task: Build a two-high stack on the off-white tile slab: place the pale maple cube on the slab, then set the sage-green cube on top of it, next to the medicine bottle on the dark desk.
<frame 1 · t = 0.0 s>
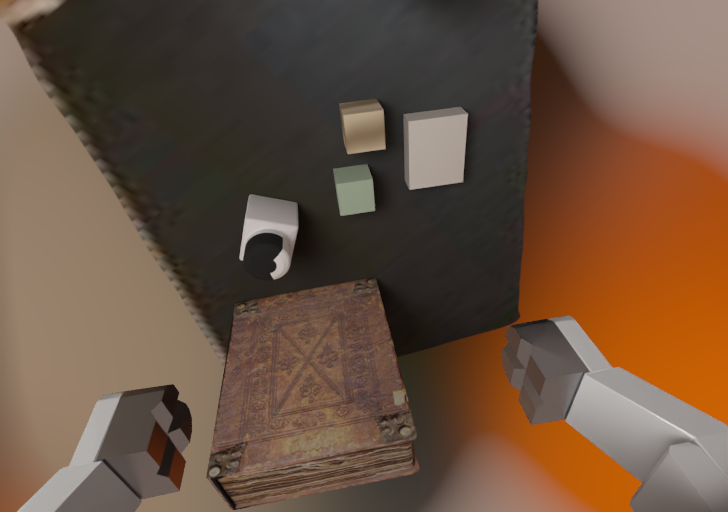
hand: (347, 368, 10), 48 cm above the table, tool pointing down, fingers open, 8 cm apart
maple cube: (359, 119, 55), on the table
tile slab: (431, 145, 58), on the table
sage cube: (351, 181, 60), on the table
book: (311, 307, 74), on the table
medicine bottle: (270, 217, 62), on the table
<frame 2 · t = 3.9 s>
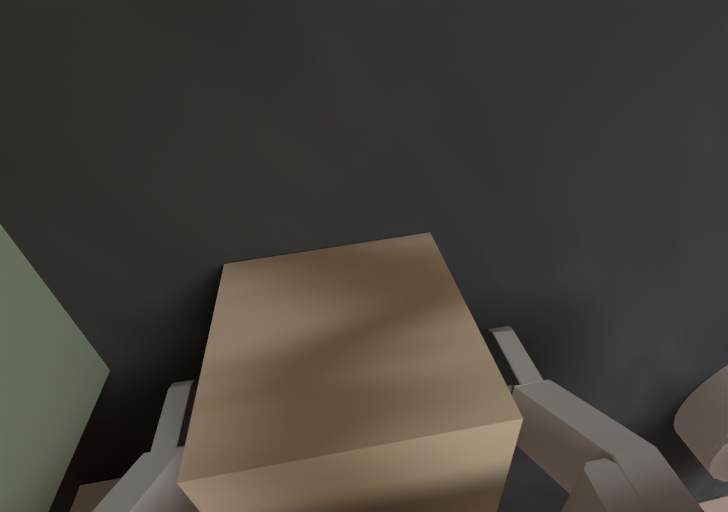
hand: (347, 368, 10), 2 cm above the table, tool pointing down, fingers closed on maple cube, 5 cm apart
maple cube: (341, 320, 11), on the table, touching gripper
tile slab: (251, 505, 17), on the table
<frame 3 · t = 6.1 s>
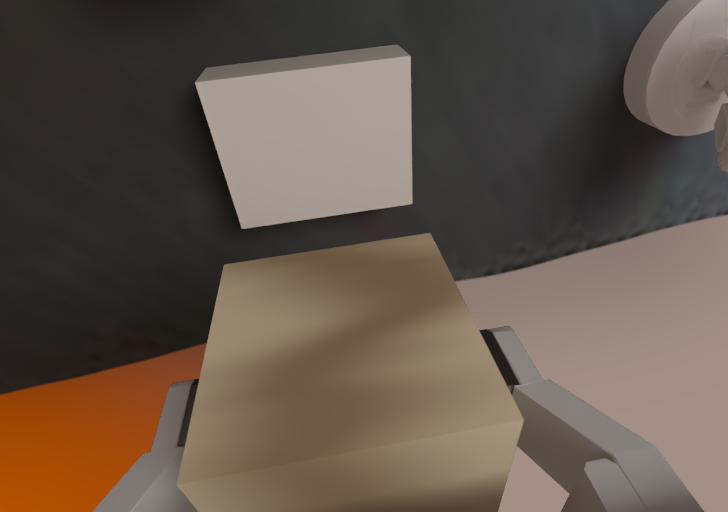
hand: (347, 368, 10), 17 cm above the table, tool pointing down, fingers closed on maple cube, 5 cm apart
maple cube: (341, 320, 11), point 15 cm above the table, touching gripper
tile slab: (315, 131, 23), on the table
character figurine: (695, 44, 24), on the table
when the fingers open (6 cm above the table, at t = 8.5 s): maple cube stays where it is, resting on tile slab.
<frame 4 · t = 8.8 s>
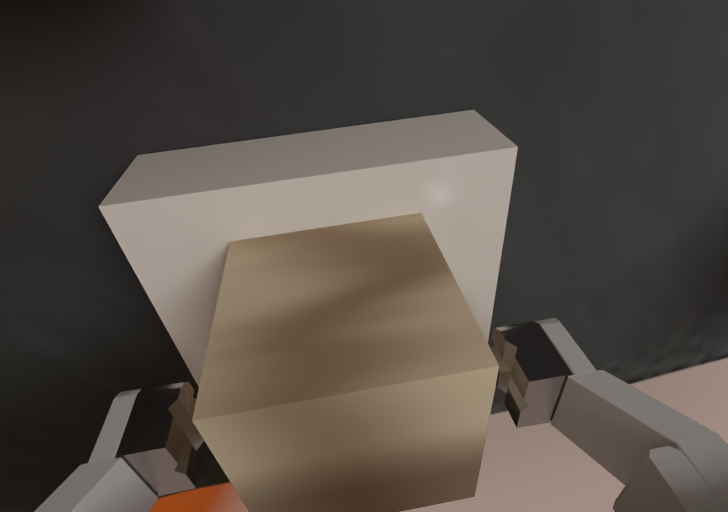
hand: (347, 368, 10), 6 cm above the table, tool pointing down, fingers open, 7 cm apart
maple cube: (338, 297, 12), point 3 cm above the table, touching tile slab
tile slab: (328, 241, 14), on the table
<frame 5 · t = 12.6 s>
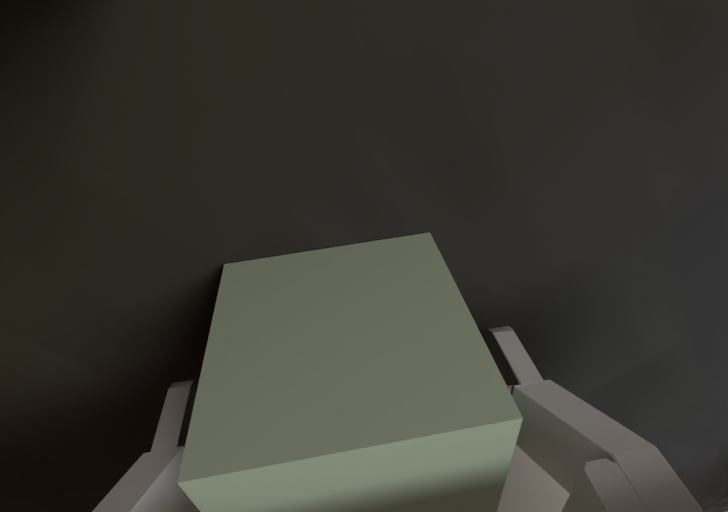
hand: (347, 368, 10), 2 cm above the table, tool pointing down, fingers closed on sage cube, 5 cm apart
tile slab: (456, 485, 19), on the table
sage cube: (341, 320, 11), on the table, touching gripper
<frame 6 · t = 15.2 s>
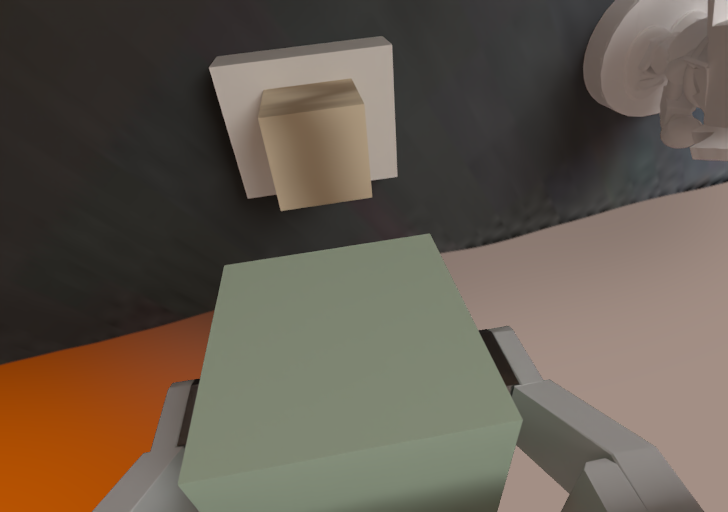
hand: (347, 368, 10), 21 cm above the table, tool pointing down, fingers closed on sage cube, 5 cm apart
maple cube: (314, 127, 24), point 3 cm above the table, touching tile slab
tile slab: (311, 112, 27), on the table
character figurine: (645, 36, 27), on the table
sage cube: (341, 321, 11), point 19 cm above the table, touching gripper
when the fingers open (11 cm above the table, at t = 17.6 s): sage cube stays where it is, resting on maple cube.
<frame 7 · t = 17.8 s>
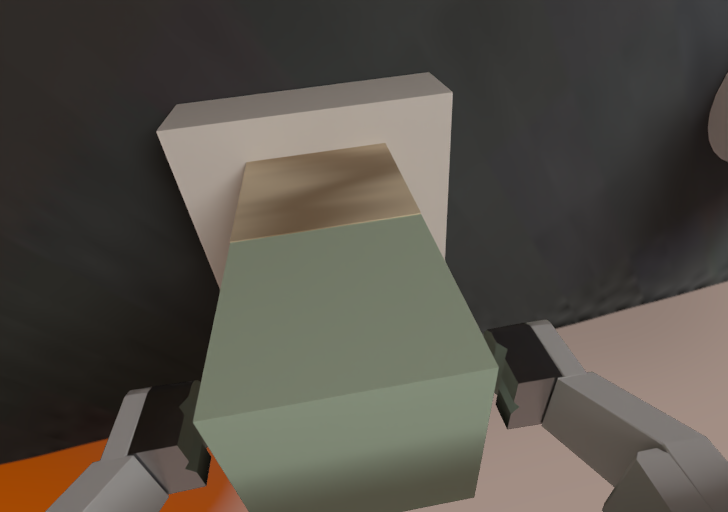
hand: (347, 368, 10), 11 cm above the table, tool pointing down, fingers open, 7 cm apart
maple cube: (326, 212, 16), point 3 cm above the table, touching sage cube, tile slab
tile slab: (320, 179, 18), on the table
sage cube: (338, 298, 12), point 8 cm above the table, touching maple cube
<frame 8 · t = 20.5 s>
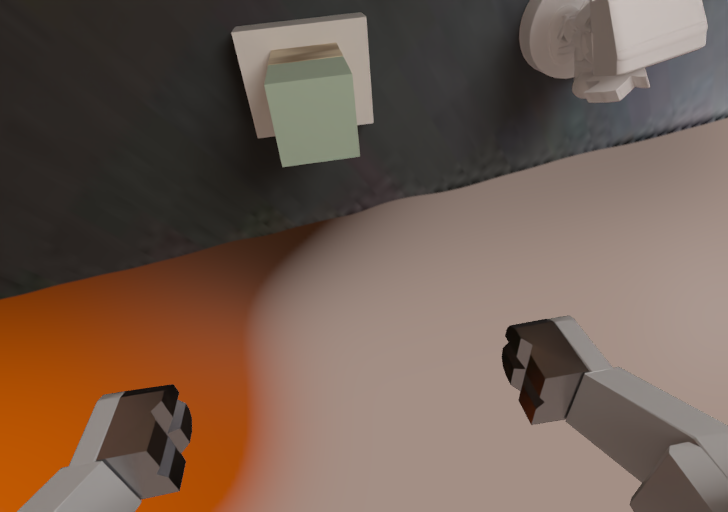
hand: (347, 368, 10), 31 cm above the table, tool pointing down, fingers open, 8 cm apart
maple cube: (309, 81, 32), point 3 cm above the table, touching sage cube, tile slab
tile slab: (307, 72, 35), on the table
character figurine: (566, 14, 35), on the table
sage cube: (311, 99, 28), point 8 cm above the table, touching maple cube
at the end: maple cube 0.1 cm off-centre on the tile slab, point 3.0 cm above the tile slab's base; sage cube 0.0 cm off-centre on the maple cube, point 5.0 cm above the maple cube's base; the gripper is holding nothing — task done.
